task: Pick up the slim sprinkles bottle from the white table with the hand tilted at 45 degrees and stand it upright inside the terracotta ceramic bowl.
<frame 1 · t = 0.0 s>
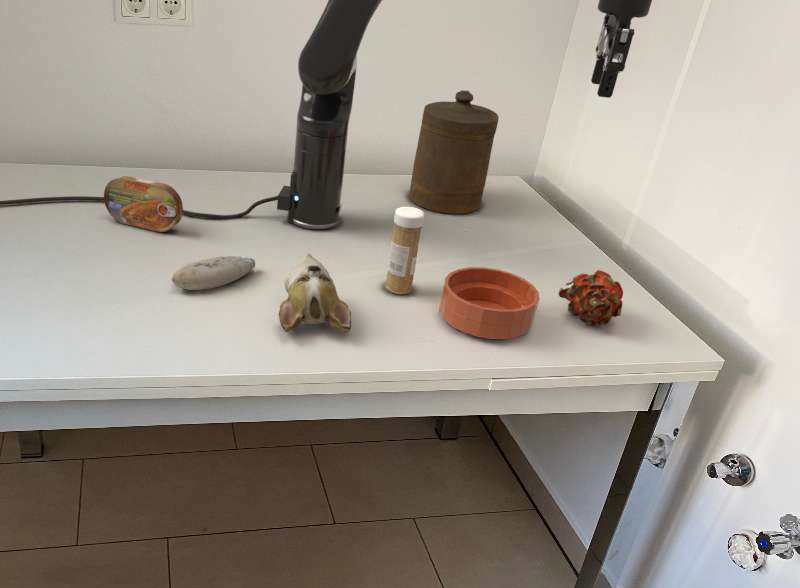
hand: (600, 90, 128), 29 cm above the table, tool pointing down, fingers open, 8 cm apart
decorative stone: (214, 282, 127), on the table
ceramic sculpture: (310, 319, 119), on the table
dragon fruit: (585, 318, 125), on the table
wooden container: (444, 201, 164), on the table
bowl: (484, 319, 122), on the table
sprinkles bottle: (397, 289, 129), on the table
tin: (144, 226, 143), on the table
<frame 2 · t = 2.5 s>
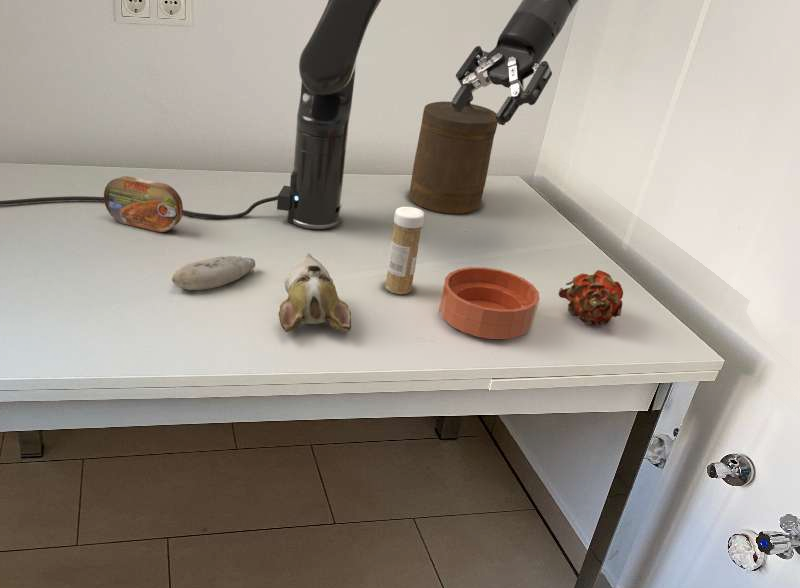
hand: (476, 115, 122), 26 cm above the table, tool tilted 40°, fingers open, 8 cm apart
nothing on the table moved.
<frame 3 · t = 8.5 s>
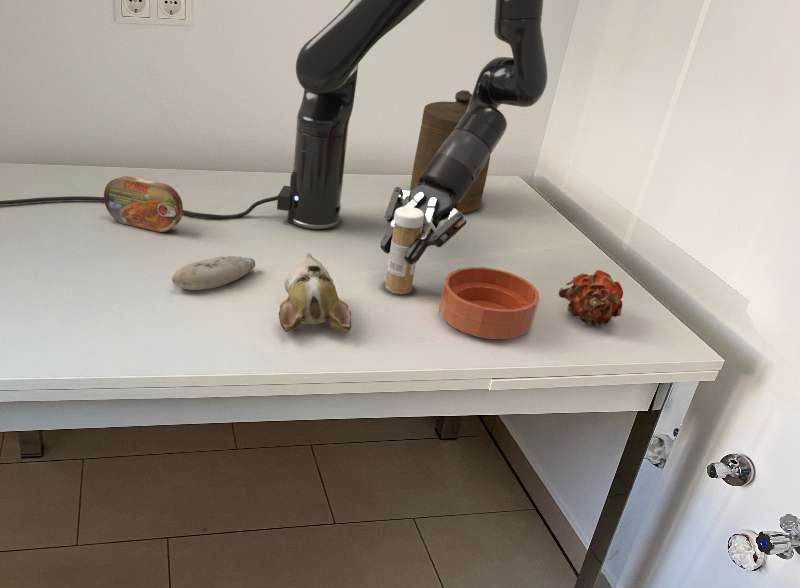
hand: (396, 255, 124), 6 cm above the table, tool tilted 45°, fingers closed on sprinkles bottle, 4 cm apart
sprinkles bottle: (397, 289, 129), on the table, touching gripper
everything else where it was.
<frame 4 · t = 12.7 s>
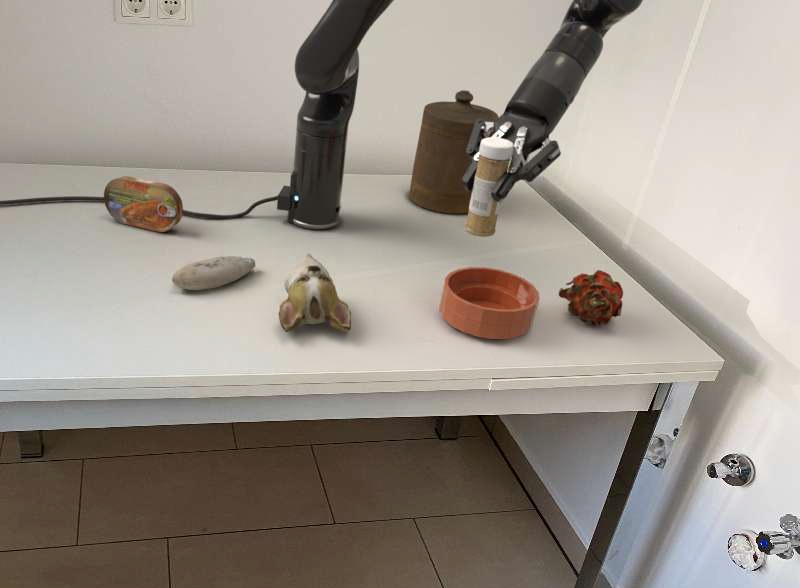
hand: (480, 192, 112), 20 cm above the table, tool tilted 45°, fingers closed on sprinkles bottle, 4 cm apart
sprinkles bottle: (478, 232, 117), point 13 cm above the table, touching gripper
everything else where it was.
when the fingers open (7 cm above the table, at t = 16.9 s): sprinkles bottle stays where it is, resting on bowl.
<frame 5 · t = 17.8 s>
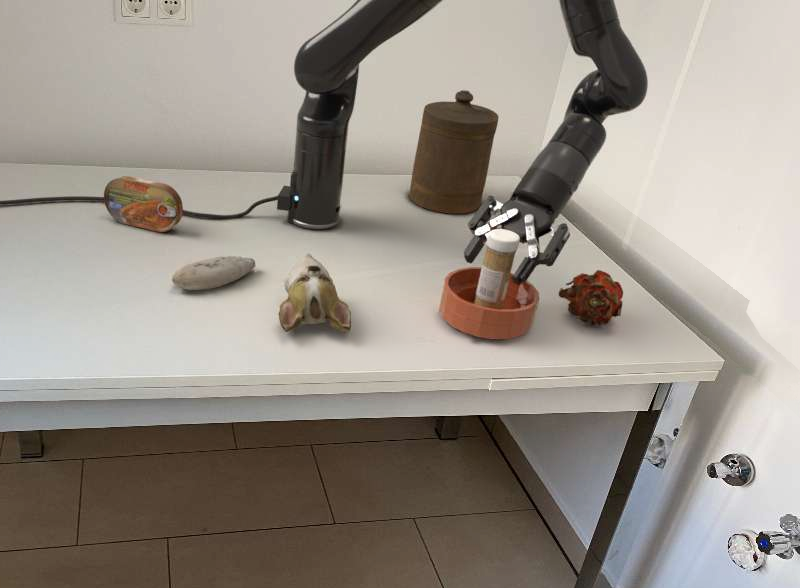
hand: (490, 271, 117), 9 cm above the table, tool tilted 45°, fingers open, 8 cm apart
sprinkles bottle: (485, 315, 122), point 1 cm above the table, touching bowl
everything else where it was.
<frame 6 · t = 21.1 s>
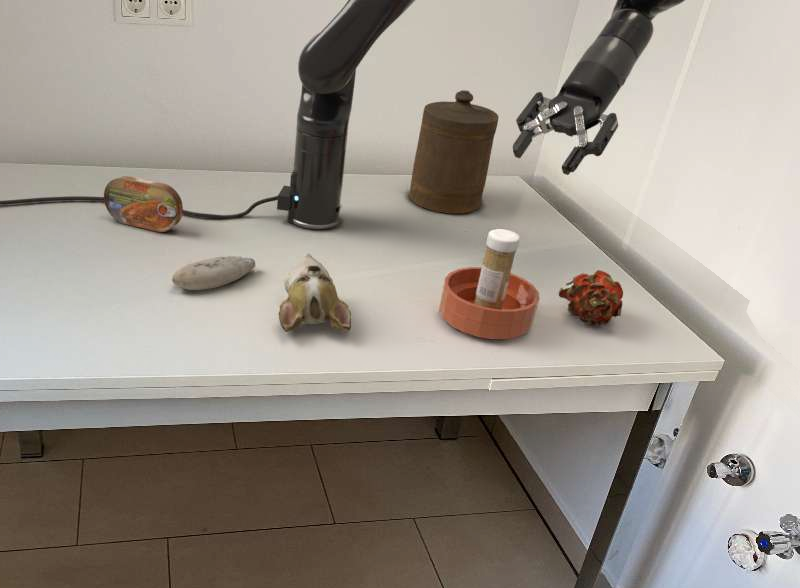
hand: (539, 163, 120), 22 cm above the table, tool tilted 45°, fingers open, 8 cm apart
nothing on the table moved.
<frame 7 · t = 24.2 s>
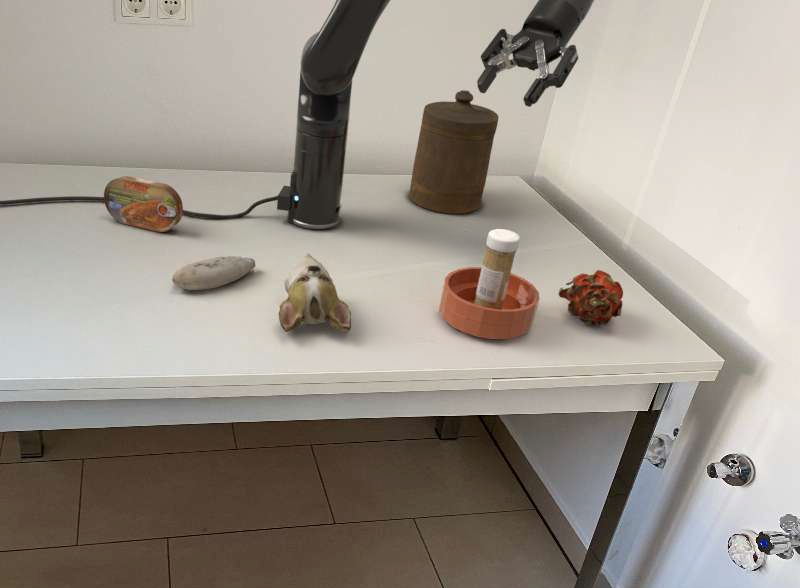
hand: (503, 96, 123), 29 cm above the table, tool tilted 45°, fingers open, 8 cm apart
nothing on the table moved.
at the end: sprinkles bottle inside the target area in the bowl (0.2 cm from its centre), point 0.6 cm above the bowl's base; sprinkles bottle tilted 0°; the gripper is holding nothing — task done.
